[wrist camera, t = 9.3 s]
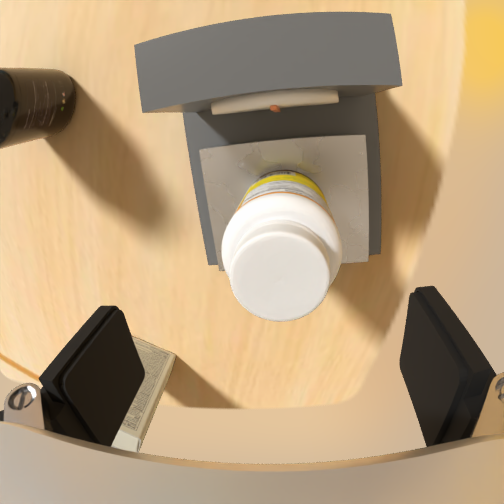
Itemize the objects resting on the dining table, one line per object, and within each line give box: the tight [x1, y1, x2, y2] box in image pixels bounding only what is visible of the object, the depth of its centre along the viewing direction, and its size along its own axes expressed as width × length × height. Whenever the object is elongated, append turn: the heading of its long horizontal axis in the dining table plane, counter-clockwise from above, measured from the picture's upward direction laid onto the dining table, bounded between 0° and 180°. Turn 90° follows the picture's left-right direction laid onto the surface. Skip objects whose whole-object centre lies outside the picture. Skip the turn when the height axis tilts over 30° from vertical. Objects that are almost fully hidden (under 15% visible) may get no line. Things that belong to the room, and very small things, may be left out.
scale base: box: [134, 12, 402, 265], centre depth 19 cm, size 16×14×11 cm
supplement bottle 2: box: [221, 170, 342, 321], centre depth 17 cm, size 6×6×10 cm
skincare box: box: [111, 336, 176, 453], centre depth 29 cm, size 6×4×12 cm
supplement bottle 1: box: [0, 68, 76, 149], centre depth 19 cm, size 7×7×12 cm
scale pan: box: [199, 134, 369, 271], centre depth 23 cm, size 9×11×2 cm
